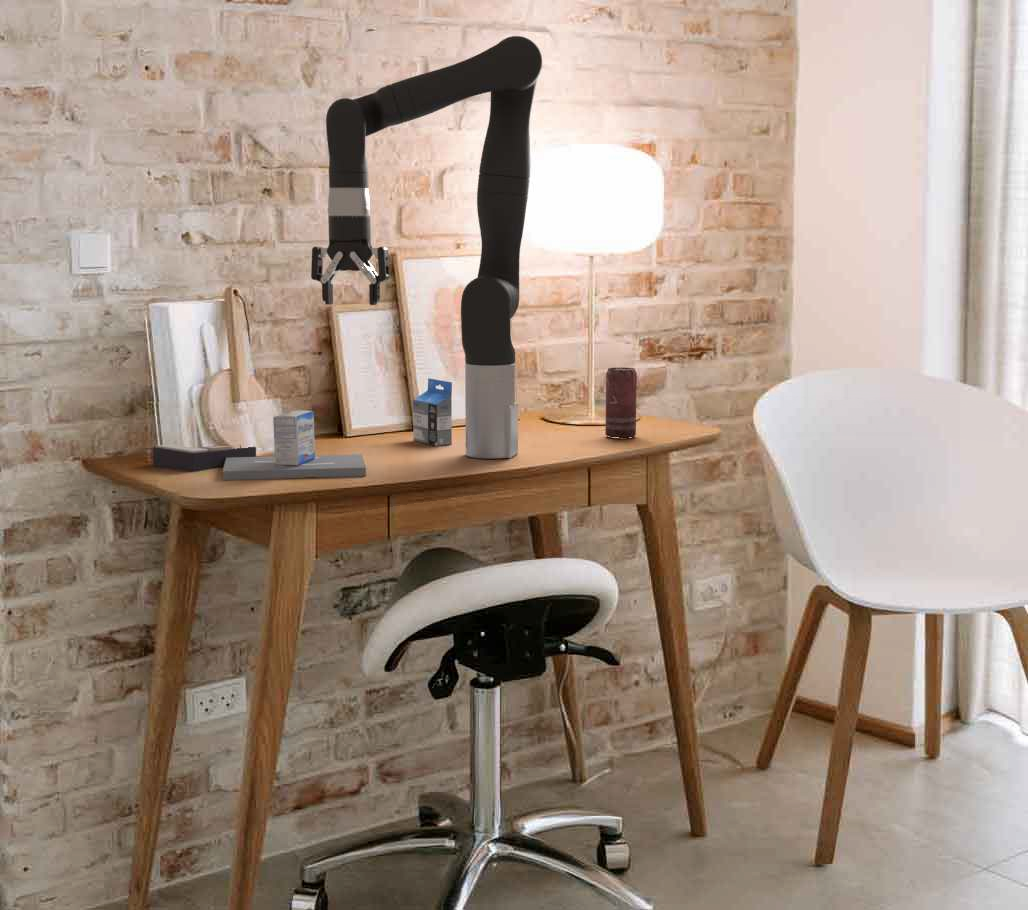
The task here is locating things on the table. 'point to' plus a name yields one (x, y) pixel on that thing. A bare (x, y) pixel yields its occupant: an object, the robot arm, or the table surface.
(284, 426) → the medicine box
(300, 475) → the slate board
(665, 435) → the table surface
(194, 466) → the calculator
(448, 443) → the label tape cartridge
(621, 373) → the can
